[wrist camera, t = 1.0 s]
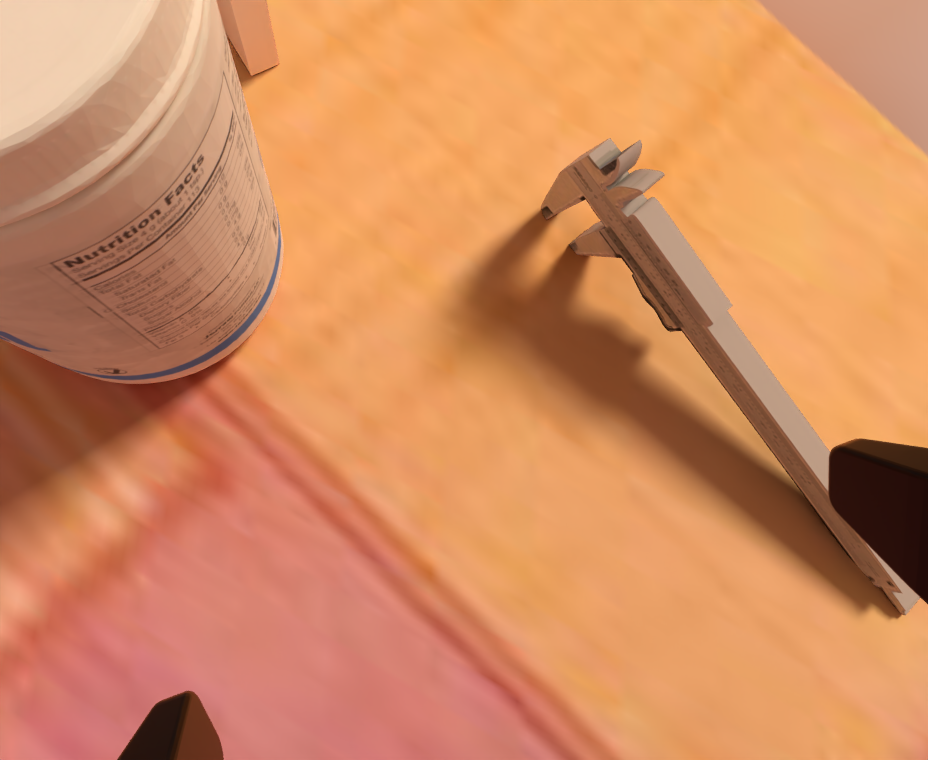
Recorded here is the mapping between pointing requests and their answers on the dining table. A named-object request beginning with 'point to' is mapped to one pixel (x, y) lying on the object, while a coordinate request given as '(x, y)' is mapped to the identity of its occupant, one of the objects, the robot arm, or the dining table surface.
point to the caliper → (705, 326)
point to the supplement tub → (129, 189)
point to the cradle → (250, 32)
